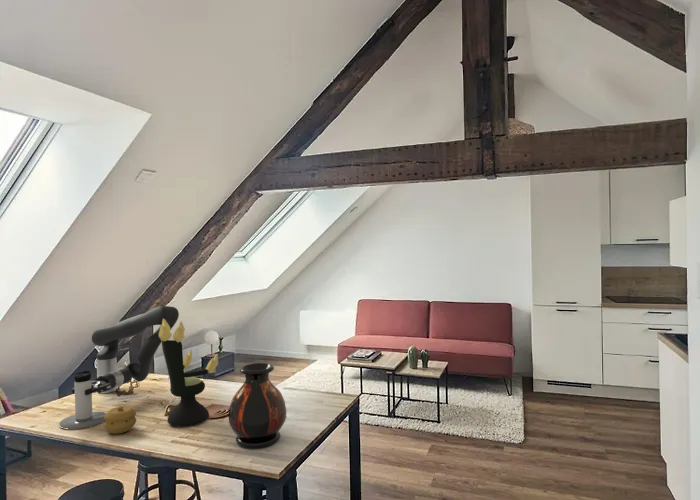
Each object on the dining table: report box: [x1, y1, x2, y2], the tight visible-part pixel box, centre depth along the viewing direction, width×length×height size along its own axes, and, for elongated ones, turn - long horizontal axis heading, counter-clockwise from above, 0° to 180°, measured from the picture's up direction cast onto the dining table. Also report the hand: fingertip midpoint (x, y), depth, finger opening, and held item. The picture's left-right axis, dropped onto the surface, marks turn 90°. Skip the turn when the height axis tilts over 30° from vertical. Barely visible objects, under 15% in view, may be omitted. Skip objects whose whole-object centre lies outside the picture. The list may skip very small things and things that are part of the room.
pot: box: [103, 405, 137, 435], centre depth 186 cm, size 12×12×10 cm
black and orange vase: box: [227, 362, 287, 449], centre depth 174 cm, size 22×22×28 cm
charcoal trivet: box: [59, 411, 107, 430], centre depth 197 cm, size 18×18×1 cm
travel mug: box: [73, 370, 93, 422], centre depth 197 cm, size 6×7×20 cm
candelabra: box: [159, 318, 219, 428], centre depth 193 cm, size 19×22×45 cm
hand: (78, 392), depth 195 cm, fingers open, 6 cm apart
